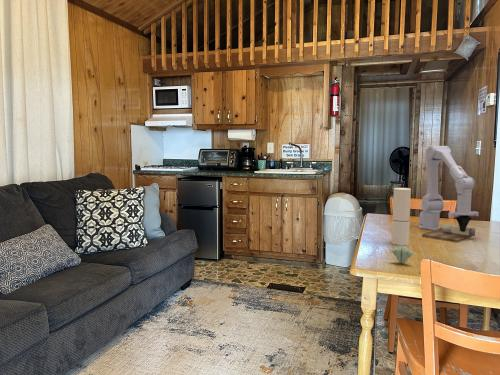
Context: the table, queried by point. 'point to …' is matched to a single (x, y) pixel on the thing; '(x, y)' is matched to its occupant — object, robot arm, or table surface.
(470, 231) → the coupling lever
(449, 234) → the base
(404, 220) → the cream tall block
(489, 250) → the table surface
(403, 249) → the green fan shape
